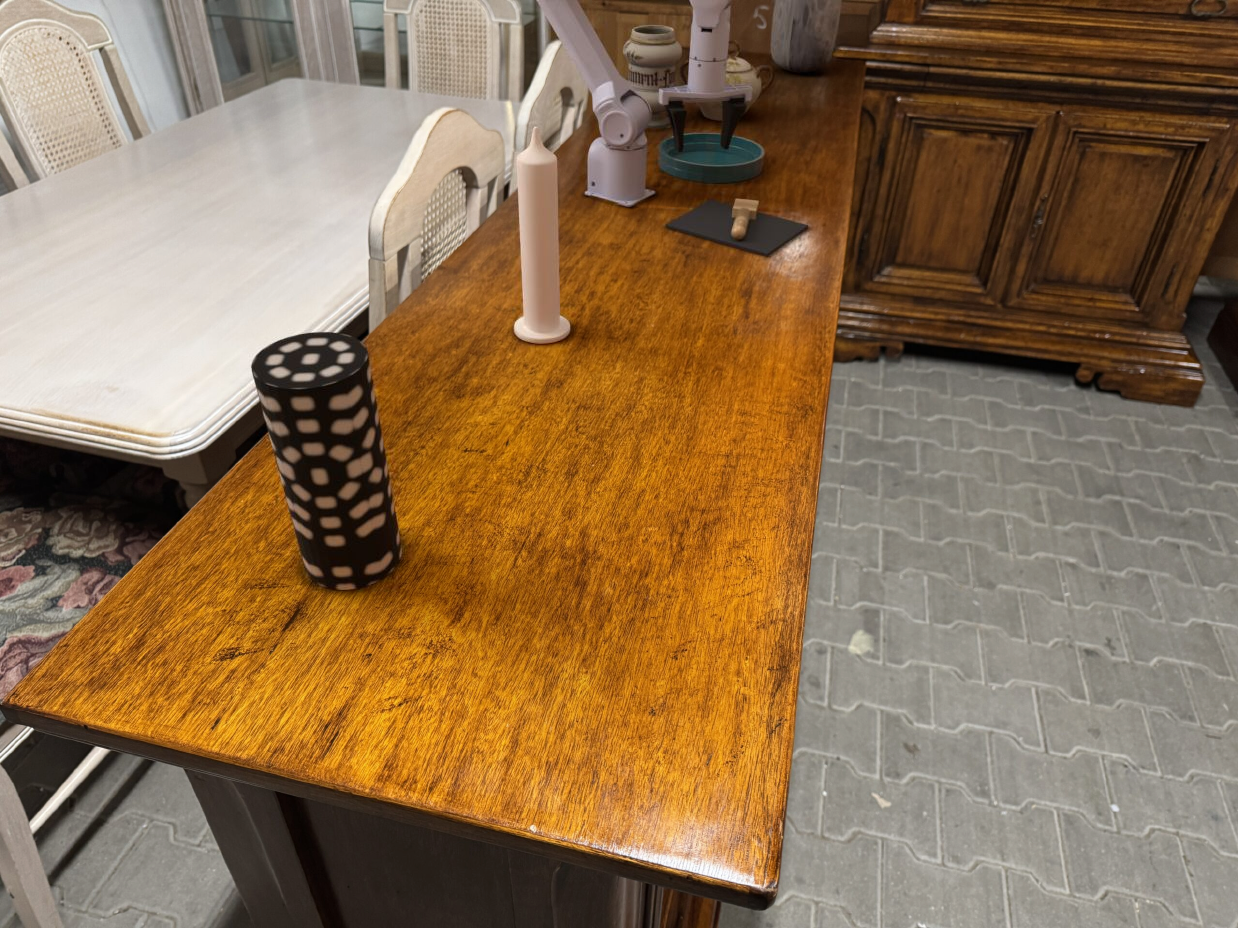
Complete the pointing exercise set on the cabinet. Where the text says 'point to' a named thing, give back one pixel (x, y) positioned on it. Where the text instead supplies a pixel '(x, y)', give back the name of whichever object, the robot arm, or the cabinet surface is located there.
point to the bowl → (711, 158)
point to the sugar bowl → (735, 82)
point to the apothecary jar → (652, 66)
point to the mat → (718, 222)
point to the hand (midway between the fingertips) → (701, 149)
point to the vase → (804, 33)
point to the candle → (539, 245)
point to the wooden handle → (743, 216)
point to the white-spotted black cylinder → (330, 456)
